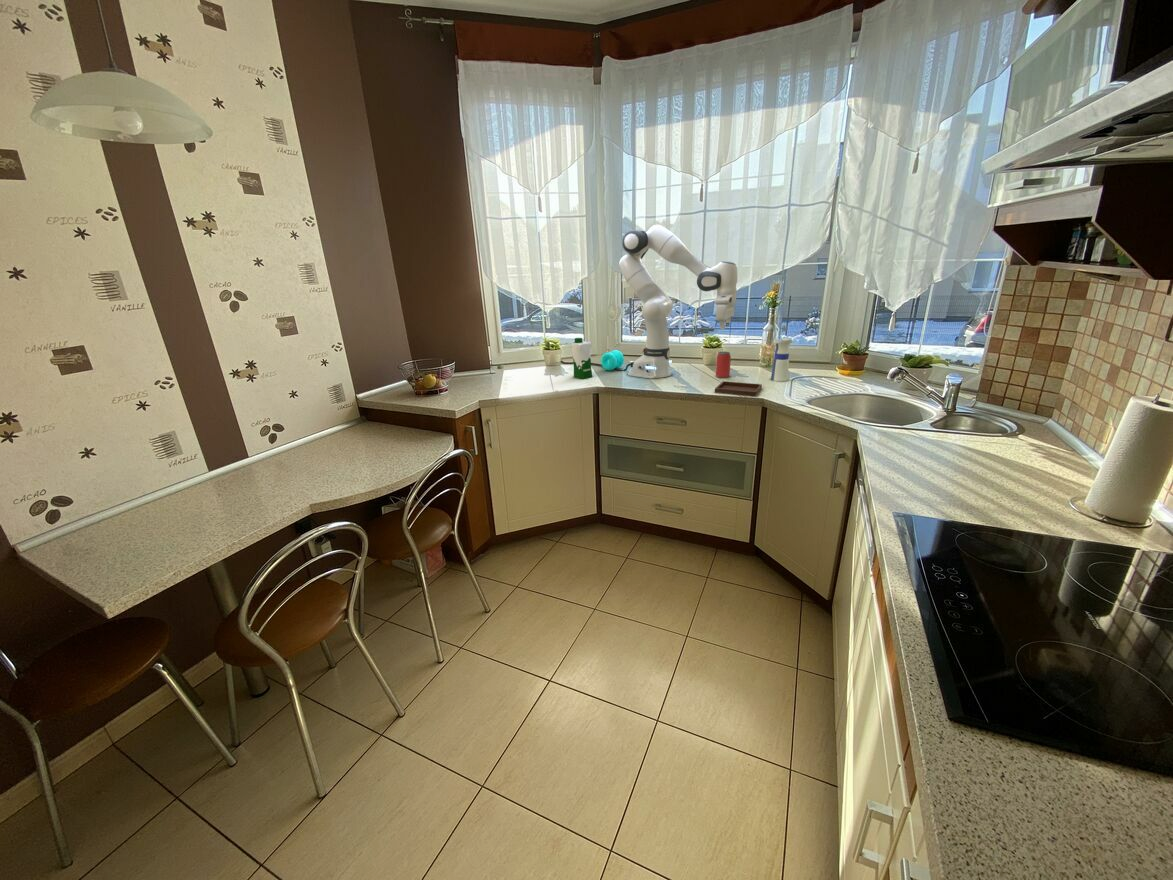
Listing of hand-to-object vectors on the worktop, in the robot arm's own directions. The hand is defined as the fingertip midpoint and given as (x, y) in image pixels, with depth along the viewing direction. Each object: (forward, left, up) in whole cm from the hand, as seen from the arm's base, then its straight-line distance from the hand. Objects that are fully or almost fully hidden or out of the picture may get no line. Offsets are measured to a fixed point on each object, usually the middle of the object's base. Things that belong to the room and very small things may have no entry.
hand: (725, 327), depth 229 cm
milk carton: (-67, -23, -24) cm, 75 cm away
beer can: (0, +1, -24) cm, 24 cm away
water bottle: (+26, +4, -24) cm, 36 cm away
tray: (+13, -22, -24) cm, 35 cm away
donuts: (-60, -2, -24) cm, 65 cm away
